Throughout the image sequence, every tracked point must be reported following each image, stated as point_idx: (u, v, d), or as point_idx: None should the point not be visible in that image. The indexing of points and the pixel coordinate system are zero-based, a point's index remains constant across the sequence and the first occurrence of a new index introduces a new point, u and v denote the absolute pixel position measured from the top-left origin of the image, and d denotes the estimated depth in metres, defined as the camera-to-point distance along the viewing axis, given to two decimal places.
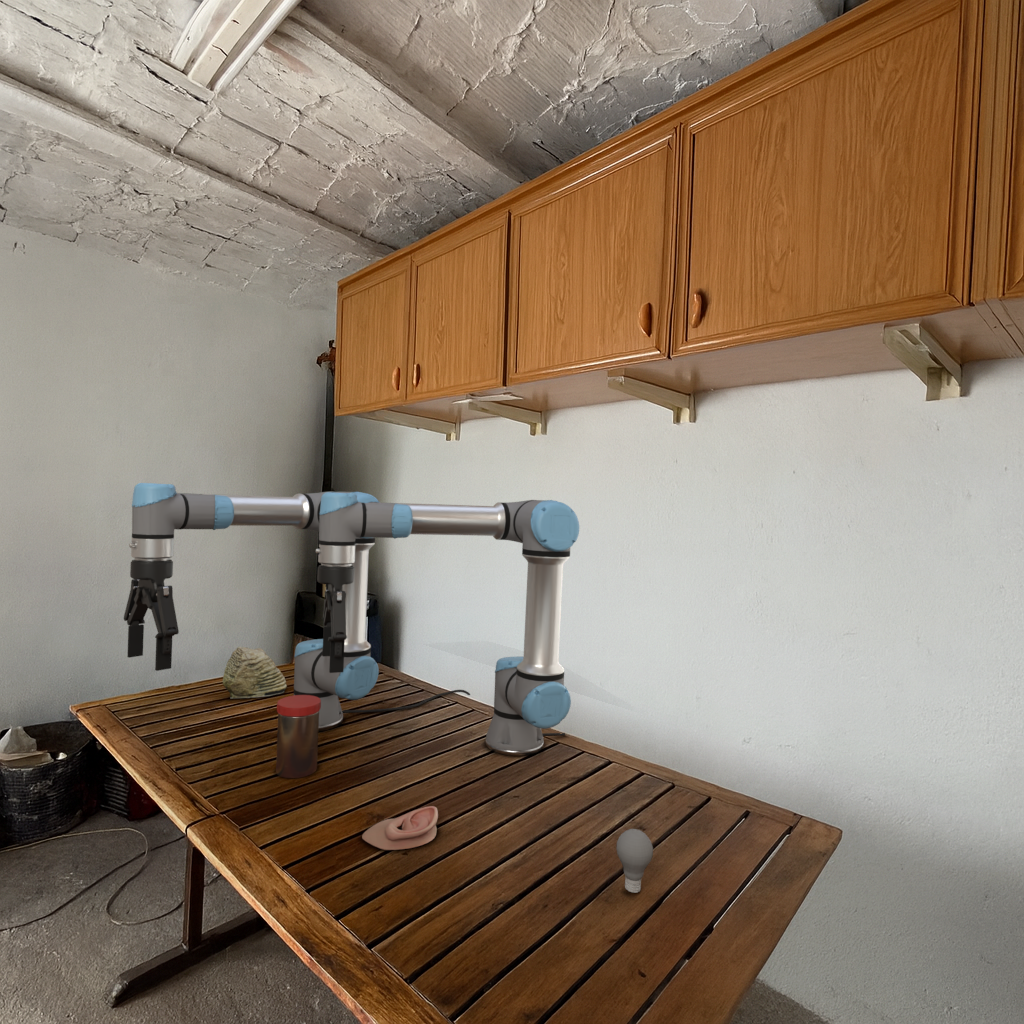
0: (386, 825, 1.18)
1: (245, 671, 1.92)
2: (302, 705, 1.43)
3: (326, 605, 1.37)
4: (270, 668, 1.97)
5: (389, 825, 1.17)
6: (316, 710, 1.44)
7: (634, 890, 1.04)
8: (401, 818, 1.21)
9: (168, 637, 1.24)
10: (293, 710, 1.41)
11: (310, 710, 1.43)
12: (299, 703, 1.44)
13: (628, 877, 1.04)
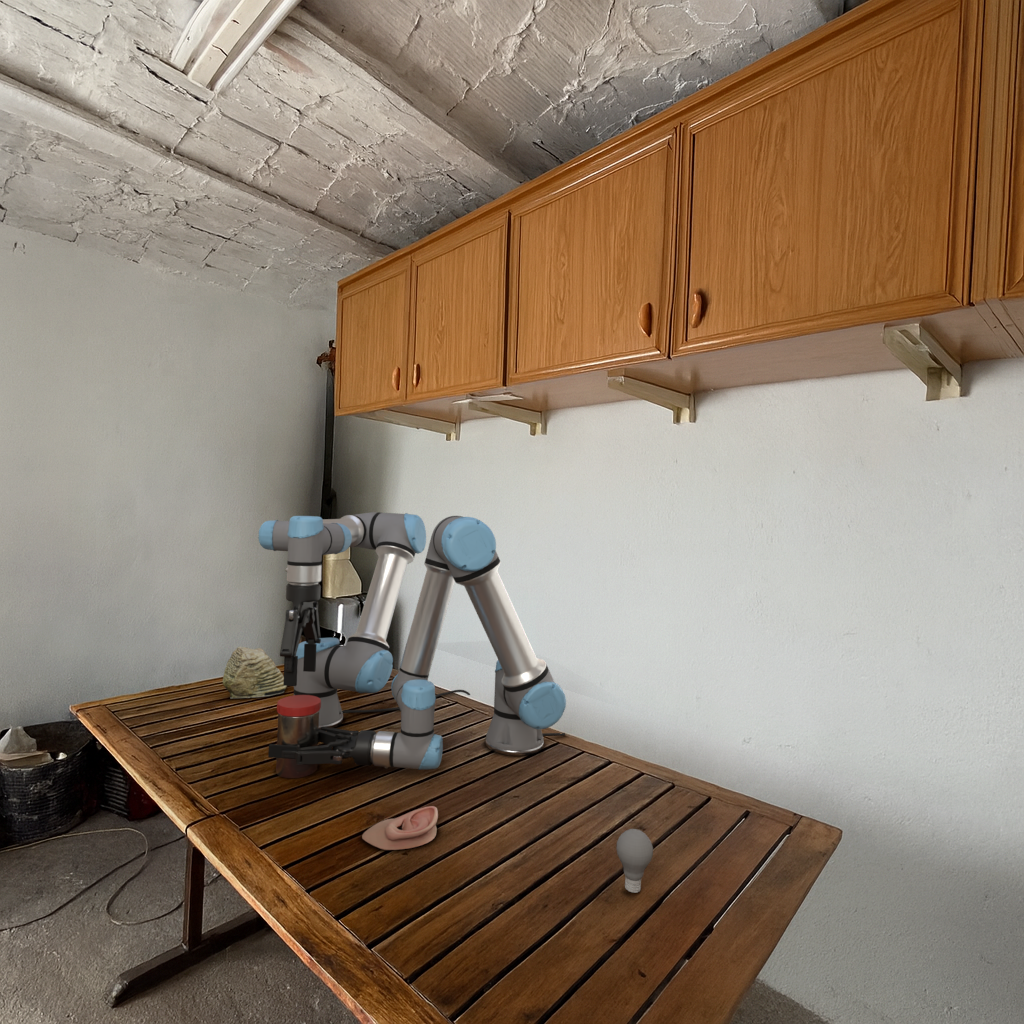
0: (386, 825, 1.18)
1: (245, 671, 1.92)
2: (302, 705, 1.43)
3: None
4: (270, 668, 1.97)
5: (389, 825, 1.17)
6: (316, 710, 1.44)
7: (634, 890, 1.04)
8: (401, 818, 1.21)
9: (288, 657, 1.38)
10: (293, 710, 1.41)
11: (310, 710, 1.43)
12: (299, 703, 1.44)
13: (628, 877, 1.04)
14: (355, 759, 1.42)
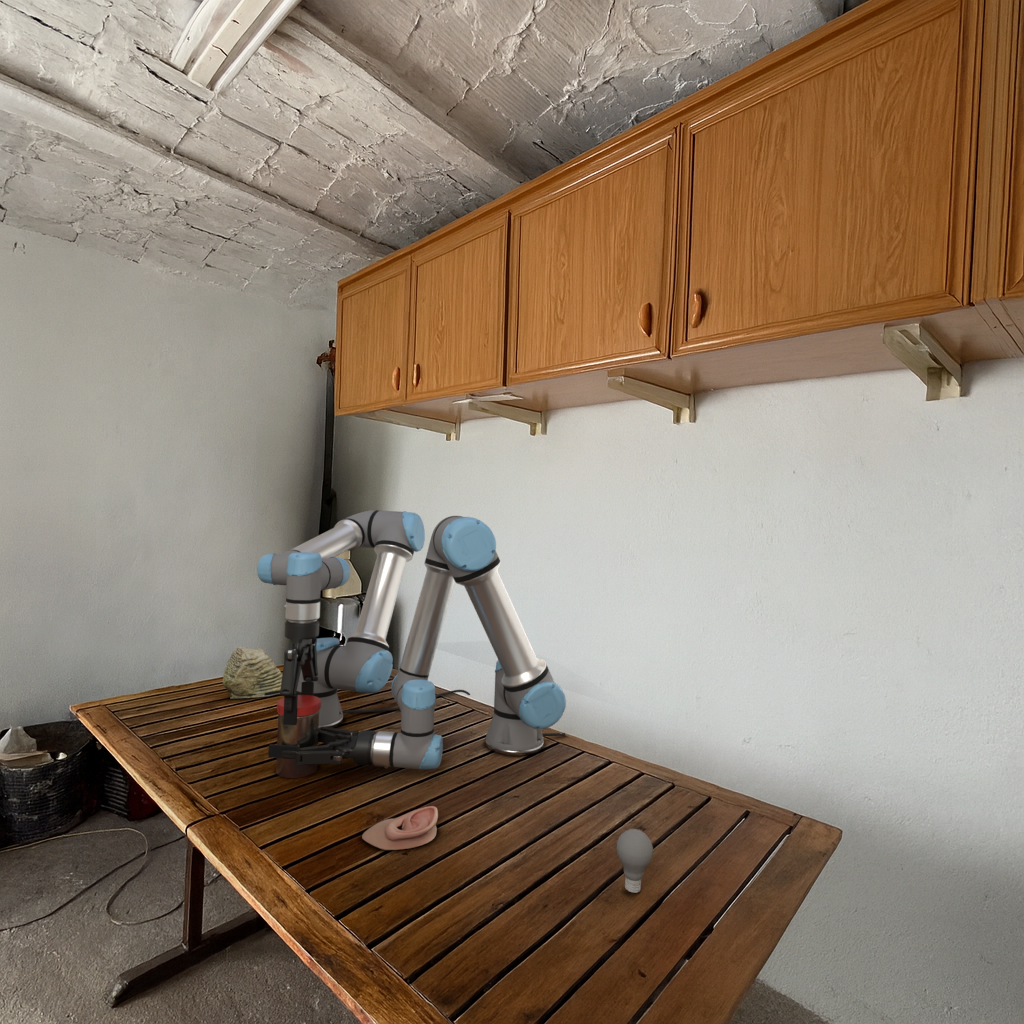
0: (386, 825, 1.18)
1: (245, 671, 1.92)
2: (302, 705, 1.43)
3: None
4: (270, 668, 1.97)
5: (389, 825, 1.17)
6: (316, 710, 1.44)
7: (634, 890, 1.04)
8: (401, 818, 1.21)
9: (288, 697, 1.39)
10: None
11: (310, 710, 1.43)
12: (299, 703, 1.44)
13: (628, 877, 1.04)
14: (355, 759, 1.42)
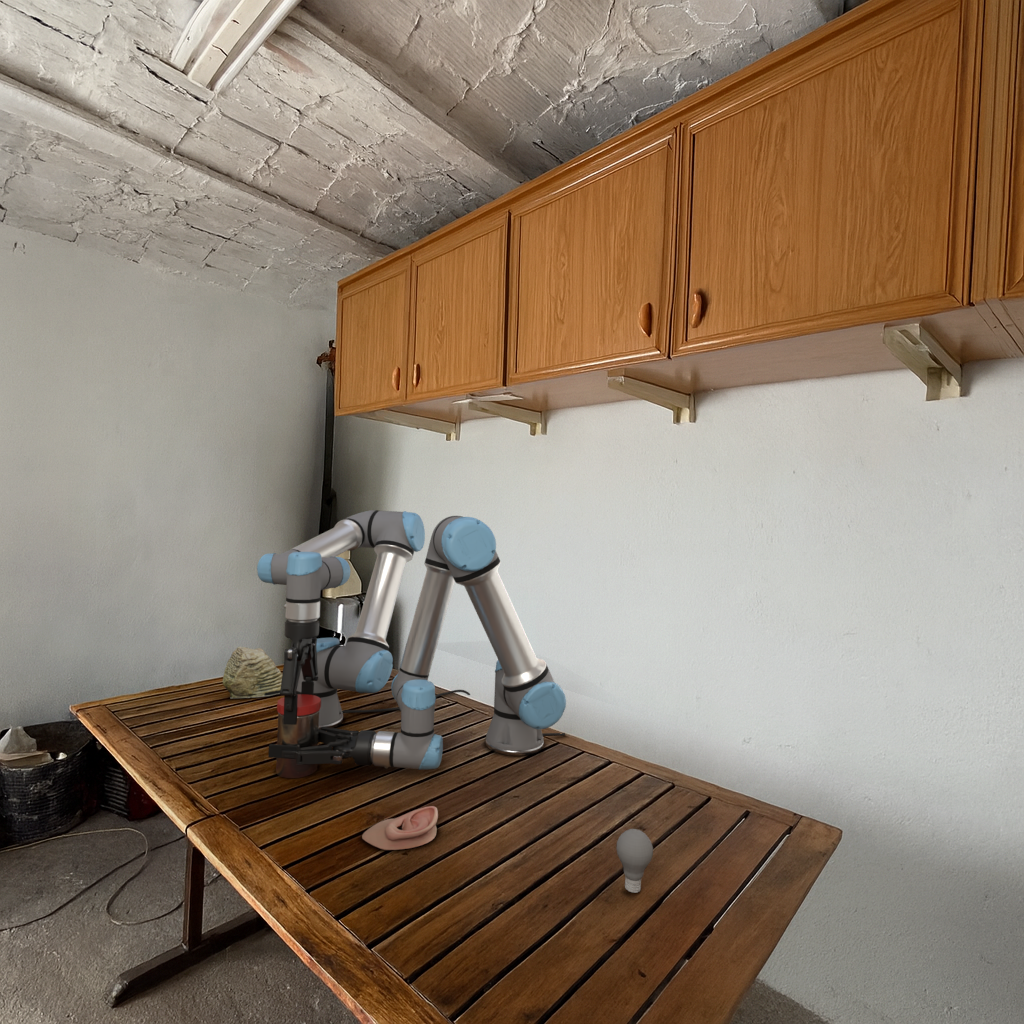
0: (386, 825, 1.18)
1: (245, 671, 1.92)
2: (313, 698, 1.48)
3: None
4: (270, 668, 1.97)
5: (389, 825, 1.17)
6: None
7: (634, 890, 1.04)
8: (401, 818, 1.21)
9: (288, 696, 1.39)
10: (319, 703, 1.46)
11: None
12: (307, 700, 1.47)
13: (628, 877, 1.04)
14: (355, 759, 1.42)
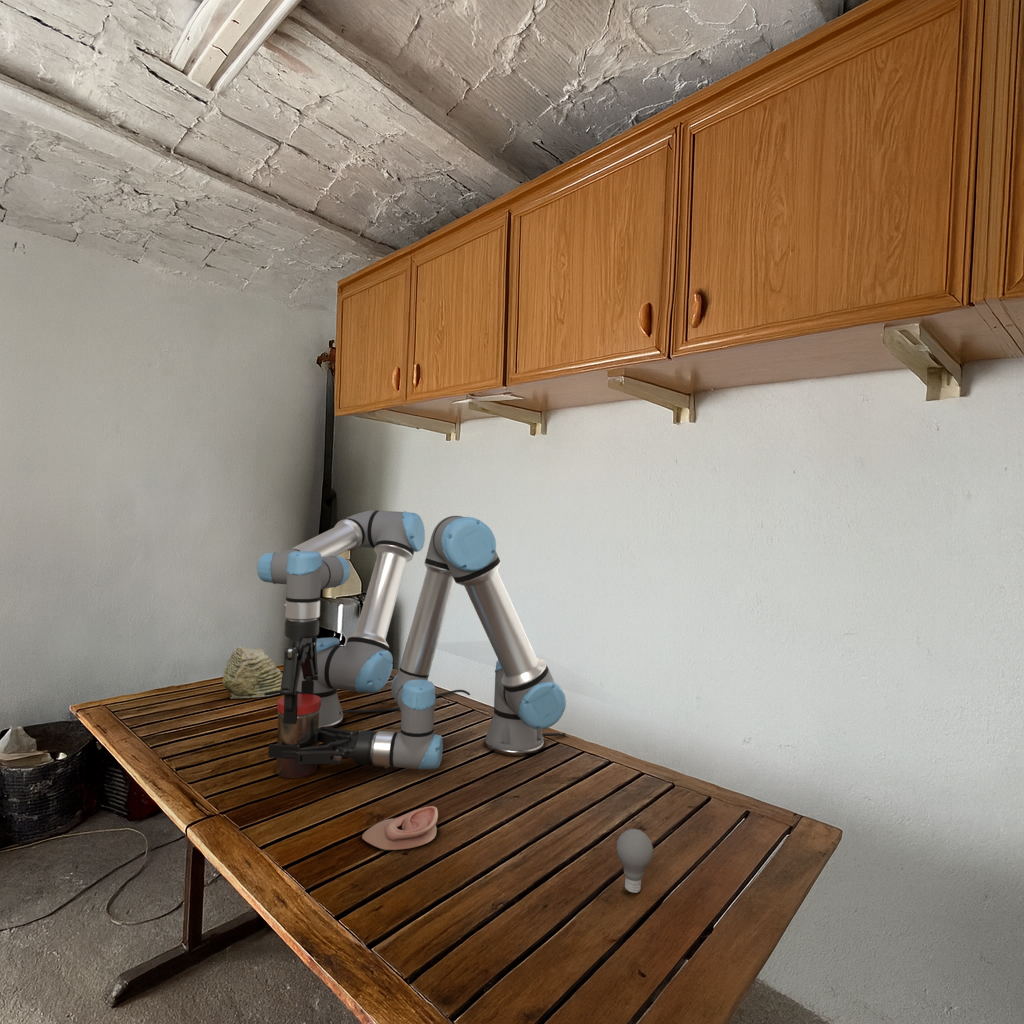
0: (386, 825, 1.18)
1: (245, 671, 1.92)
2: None
3: None
4: (270, 668, 1.97)
5: (389, 825, 1.17)
6: None
7: (634, 890, 1.04)
8: (401, 818, 1.21)
9: (288, 696, 1.39)
10: None
11: None
12: (299, 697, 1.48)
13: (628, 877, 1.04)
14: (355, 759, 1.42)
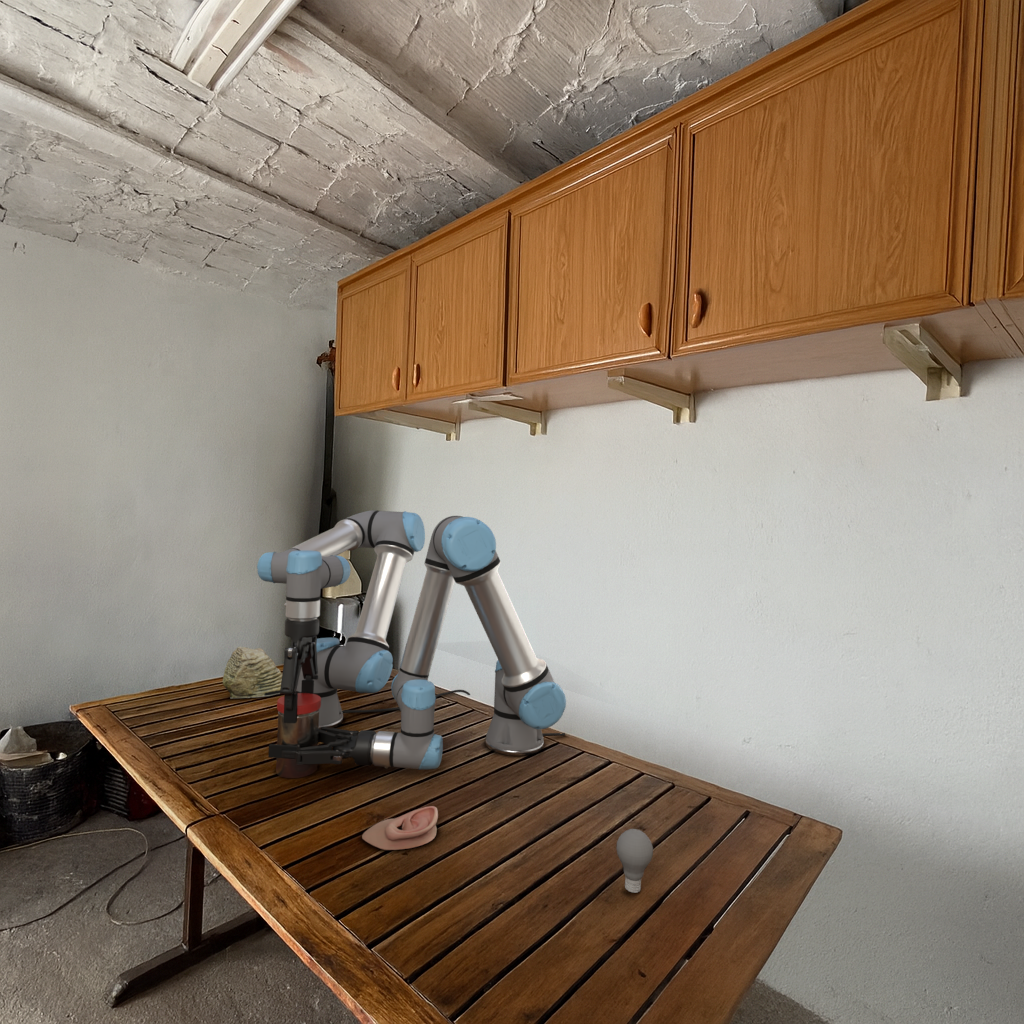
0: (386, 825, 1.18)
1: (245, 671, 1.92)
2: None
3: None
4: (270, 668, 1.97)
5: (389, 825, 1.17)
6: (283, 711, 1.42)
7: (634, 890, 1.04)
8: (401, 818, 1.21)
9: (288, 695, 1.39)
10: None
11: (279, 707, 1.43)
12: None
13: (628, 877, 1.04)
14: (355, 759, 1.42)
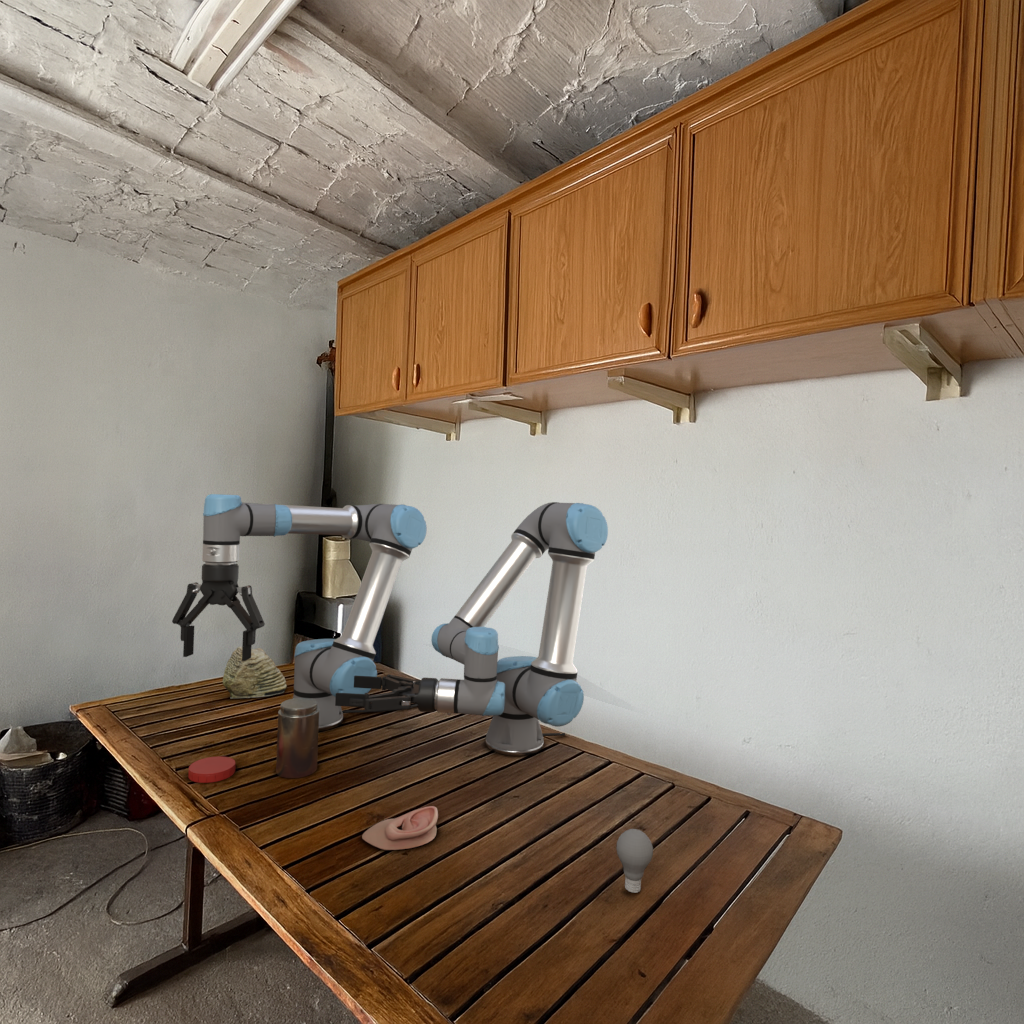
0: (386, 825, 1.18)
1: (245, 671, 1.92)
2: (211, 770, 1.39)
3: None
4: (270, 668, 1.97)
5: (389, 825, 1.17)
6: (226, 776, 1.40)
7: (634, 890, 1.04)
8: (401, 818, 1.21)
9: (254, 630, 1.41)
10: (200, 776, 1.38)
11: (218, 776, 1.39)
12: (210, 768, 1.41)
13: (628, 877, 1.04)
14: (419, 705, 1.41)
